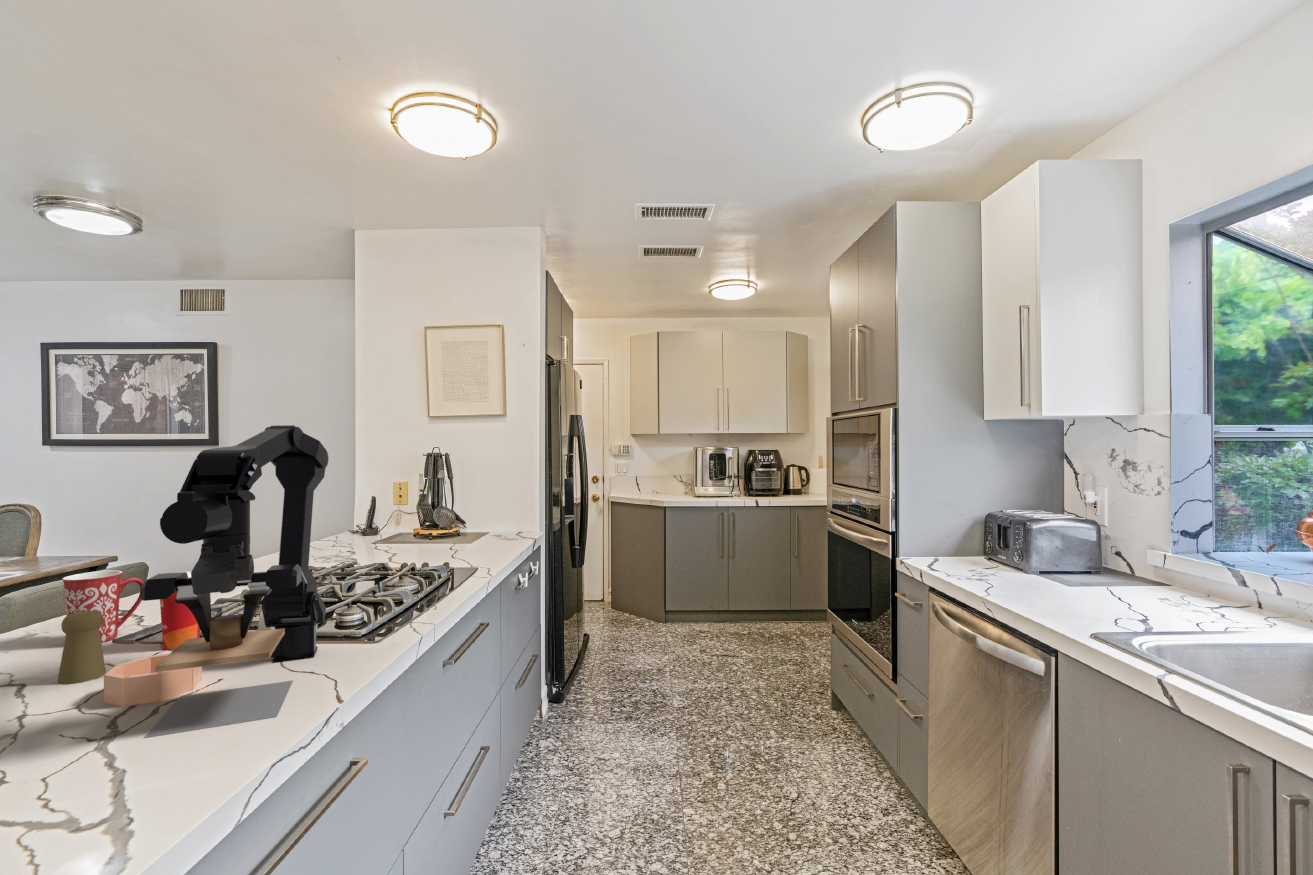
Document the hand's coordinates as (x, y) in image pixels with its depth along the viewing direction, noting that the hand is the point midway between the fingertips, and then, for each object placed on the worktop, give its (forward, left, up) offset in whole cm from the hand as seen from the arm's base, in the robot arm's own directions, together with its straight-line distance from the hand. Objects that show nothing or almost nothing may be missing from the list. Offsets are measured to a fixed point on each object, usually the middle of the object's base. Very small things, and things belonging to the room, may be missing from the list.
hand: (226, 639), depth 89 cm
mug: (+32, -52, -10) cm, 62 cm away
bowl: (+12, -12, -10) cm, 20 cm away
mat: (0, 0, -10) cm, 10 cm away
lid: (0, 0, -2) cm, 2 cm away
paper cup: (+16, -40, -10) cm, 44 cm away
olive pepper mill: (+26, -26, -10) cm, 38 cm away
